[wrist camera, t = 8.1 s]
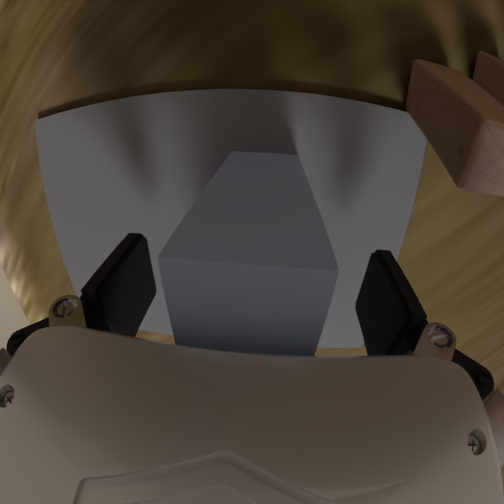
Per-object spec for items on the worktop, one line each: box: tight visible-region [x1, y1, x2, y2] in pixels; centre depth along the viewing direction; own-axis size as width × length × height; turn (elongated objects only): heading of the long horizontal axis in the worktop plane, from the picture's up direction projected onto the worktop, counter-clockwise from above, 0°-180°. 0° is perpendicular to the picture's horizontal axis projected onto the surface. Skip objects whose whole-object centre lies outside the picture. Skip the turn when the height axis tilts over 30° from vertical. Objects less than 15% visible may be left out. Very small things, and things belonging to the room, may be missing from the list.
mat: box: [35, 89, 427, 348], centre depth 15 cm, size 16×22×1 cm
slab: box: [158, 151, 339, 356], centre depth 10 cm, size 8×3×9 cm, turn 178°
